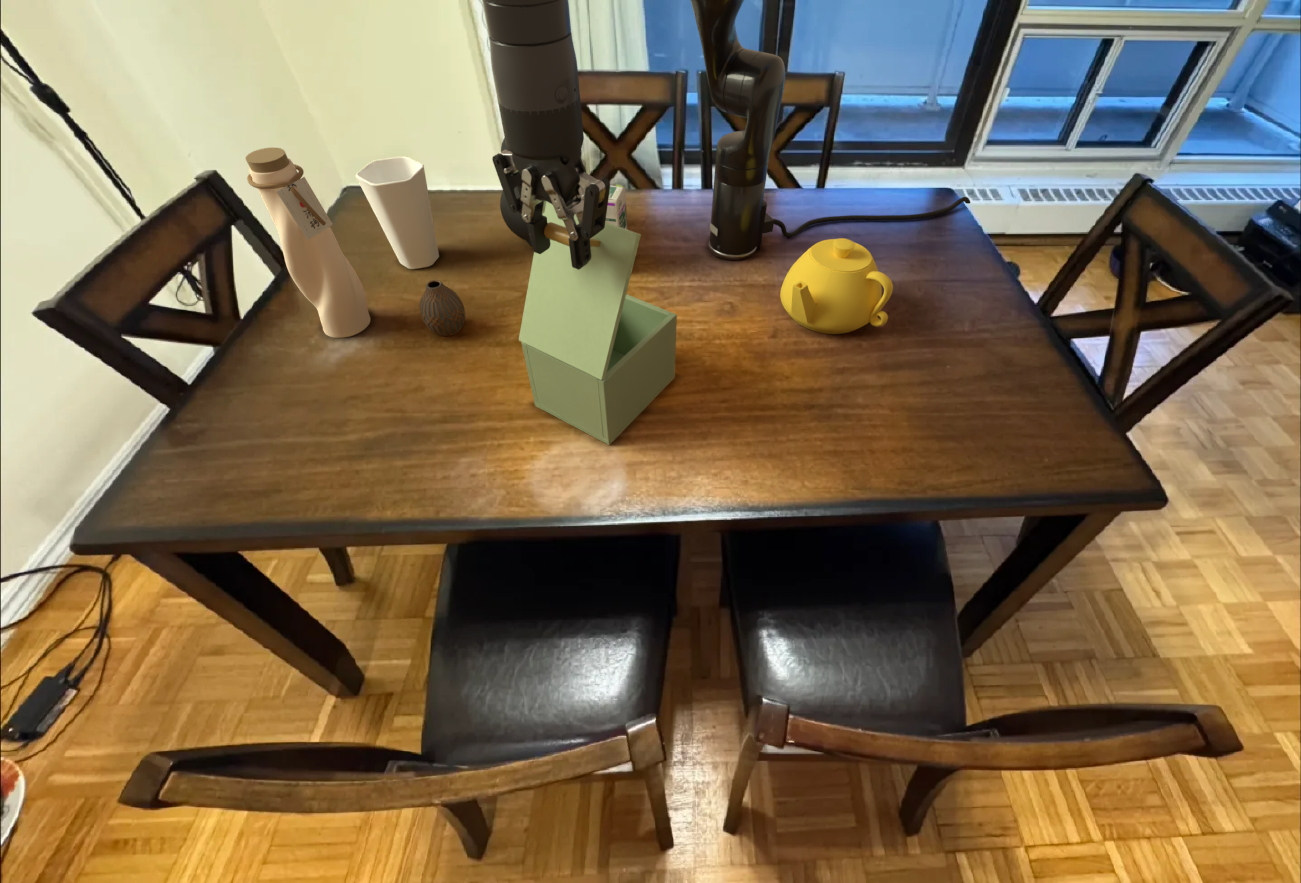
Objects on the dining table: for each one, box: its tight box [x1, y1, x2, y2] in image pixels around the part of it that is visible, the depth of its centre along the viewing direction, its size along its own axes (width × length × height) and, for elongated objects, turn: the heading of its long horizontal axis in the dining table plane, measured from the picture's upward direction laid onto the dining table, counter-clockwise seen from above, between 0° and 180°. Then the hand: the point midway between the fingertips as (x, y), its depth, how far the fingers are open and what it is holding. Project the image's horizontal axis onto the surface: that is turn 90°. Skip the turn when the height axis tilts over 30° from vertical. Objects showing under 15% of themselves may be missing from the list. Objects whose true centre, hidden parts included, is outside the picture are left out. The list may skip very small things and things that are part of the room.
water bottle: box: [245, 147, 371, 339], centre depth 89 cm, size 10×9×28 cm
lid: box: [518, 201, 642, 380], centre depth 69 cm, size 18×14×5 cm
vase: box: [419, 279, 466, 337], centre depth 95 cm, size 7×7×9 cm
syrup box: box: [605, 182, 629, 230], centre depth 106 cm, size 6×6×14 cm
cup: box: [355, 155, 440, 270], centre depth 107 cm, size 11×10×17 cm
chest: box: [521, 293, 678, 446], centre depth 84 cm, size 17×14×12 cm
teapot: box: [779, 237, 894, 335], centre depth 96 cm, size 20×19×13 cm
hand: (561, 257), depth 66 cm, fingers closed on lid, 5 cm apart
